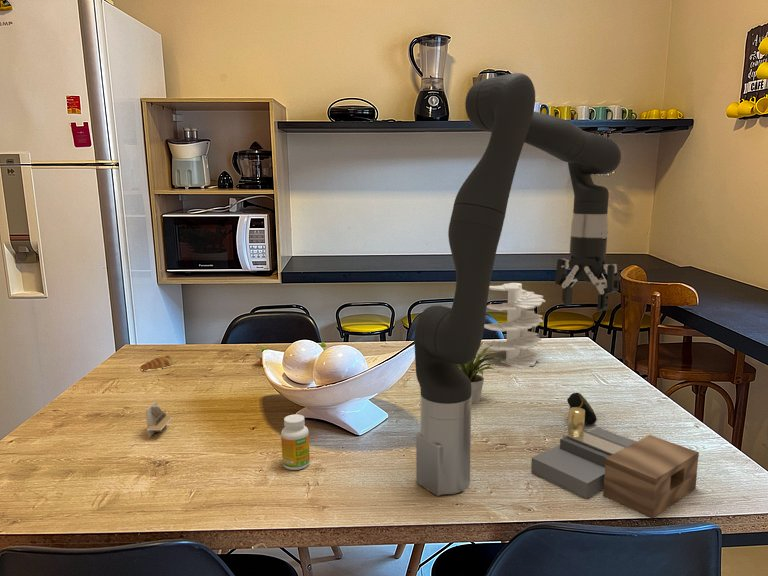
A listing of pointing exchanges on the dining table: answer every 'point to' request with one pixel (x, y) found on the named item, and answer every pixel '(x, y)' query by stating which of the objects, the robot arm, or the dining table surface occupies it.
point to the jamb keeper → (650, 475)
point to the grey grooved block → (577, 464)
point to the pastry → (158, 363)
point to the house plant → (472, 371)
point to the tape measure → (581, 402)
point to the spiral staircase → (517, 325)
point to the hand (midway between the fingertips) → (584, 307)
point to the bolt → (586, 439)
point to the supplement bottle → (295, 443)
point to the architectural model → (156, 419)
